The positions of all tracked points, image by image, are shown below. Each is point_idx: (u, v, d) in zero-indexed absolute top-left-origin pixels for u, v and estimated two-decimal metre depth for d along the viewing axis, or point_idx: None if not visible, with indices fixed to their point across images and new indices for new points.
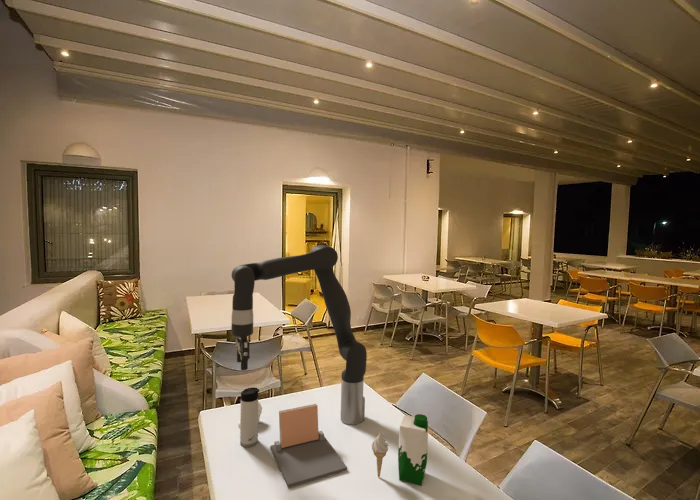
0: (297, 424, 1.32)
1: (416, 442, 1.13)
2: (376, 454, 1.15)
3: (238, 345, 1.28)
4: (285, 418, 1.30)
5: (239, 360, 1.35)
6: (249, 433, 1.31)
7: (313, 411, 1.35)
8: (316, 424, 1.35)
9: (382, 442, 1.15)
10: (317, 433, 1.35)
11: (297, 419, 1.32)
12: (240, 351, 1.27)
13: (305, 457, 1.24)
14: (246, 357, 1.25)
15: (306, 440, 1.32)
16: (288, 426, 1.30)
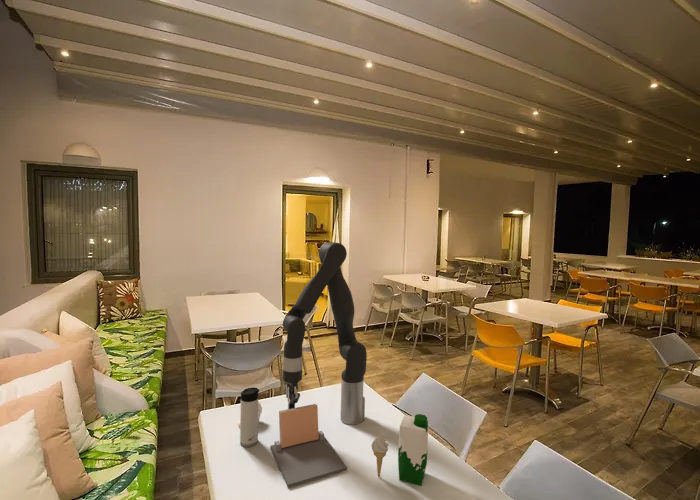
0: (297, 424, 1.32)
1: (416, 442, 1.13)
2: (376, 454, 1.15)
3: (288, 391, 1.38)
4: (285, 418, 1.30)
5: None
6: (249, 433, 1.31)
7: (313, 411, 1.35)
8: (316, 424, 1.35)
9: (382, 442, 1.15)
10: (317, 433, 1.35)
11: (297, 419, 1.32)
12: (289, 397, 1.39)
13: (305, 457, 1.24)
14: (294, 401, 1.38)
15: (306, 440, 1.32)
16: (288, 426, 1.30)
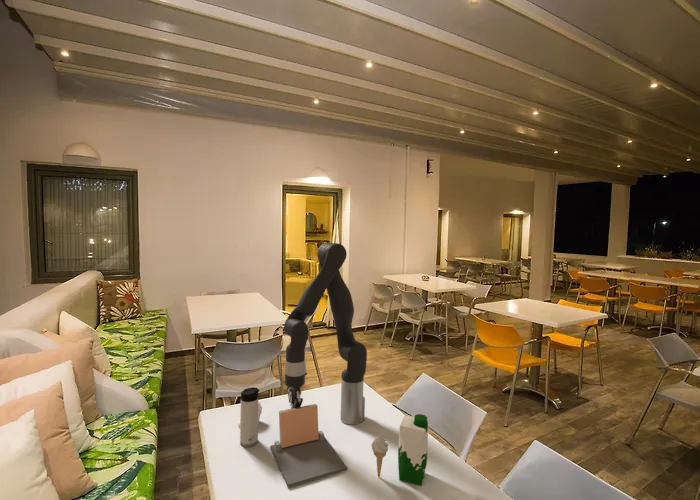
0: (297, 424, 1.32)
1: (416, 442, 1.13)
2: (376, 454, 1.15)
3: (291, 396, 1.35)
4: (285, 418, 1.30)
5: None
6: (249, 433, 1.31)
7: (313, 411, 1.35)
8: (316, 424, 1.35)
9: (382, 442, 1.15)
10: (317, 433, 1.35)
11: (297, 419, 1.32)
12: (292, 402, 1.36)
13: (305, 457, 1.24)
14: (297, 406, 1.35)
15: (306, 440, 1.32)
16: (288, 426, 1.30)
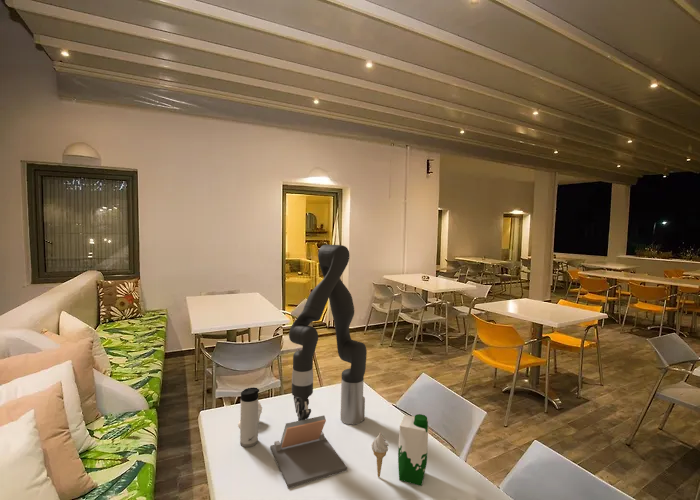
0: (301, 433, 1.27)
1: (416, 442, 1.13)
2: (376, 454, 1.15)
3: (298, 406, 1.28)
4: (291, 431, 1.24)
5: None
6: (249, 433, 1.31)
7: (320, 424, 1.29)
8: (320, 431, 1.31)
9: (382, 442, 1.15)
10: (318, 436, 1.33)
11: (302, 430, 1.27)
12: (299, 412, 1.28)
13: (305, 457, 1.24)
14: (305, 417, 1.27)
15: (306, 441, 1.32)
16: (292, 435, 1.26)
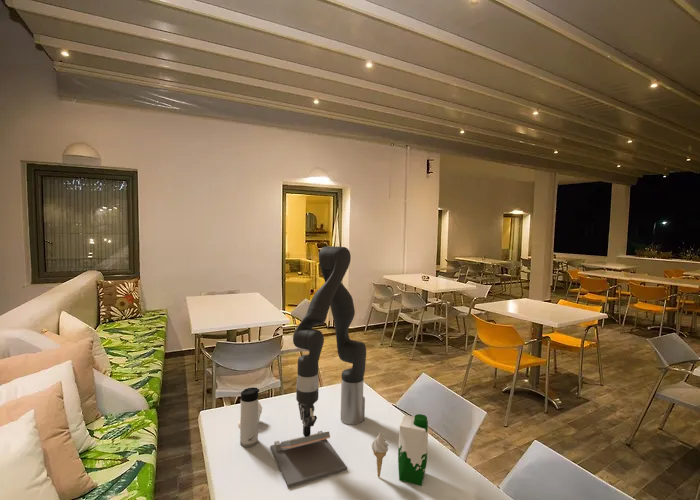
0: None
1: (416, 442, 1.13)
2: (376, 454, 1.15)
3: (303, 413, 1.23)
4: None
5: None
6: (249, 433, 1.31)
7: None
8: None
9: (382, 442, 1.15)
10: None
11: None
12: (305, 419, 1.23)
13: (305, 457, 1.24)
14: (310, 424, 1.23)
15: None
16: None
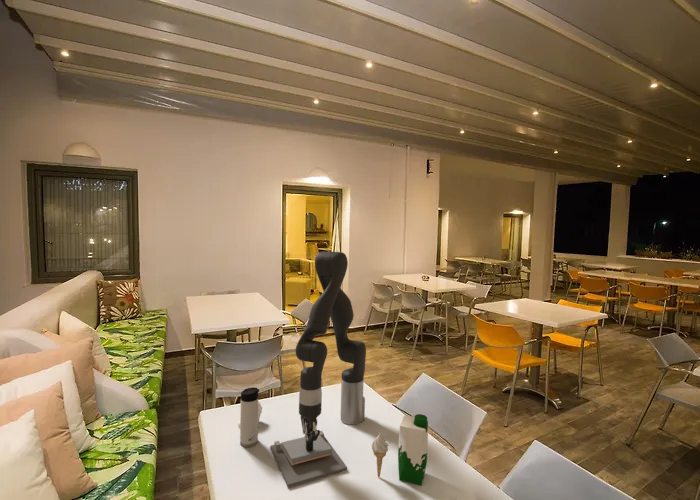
0: None
1: (416, 442, 1.13)
2: (376, 454, 1.15)
3: (306, 427, 1.20)
4: None
5: None
6: (249, 433, 1.31)
7: None
8: None
9: (382, 442, 1.15)
10: None
11: None
12: (307, 434, 1.21)
13: None
14: (313, 439, 1.20)
15: None
16: None
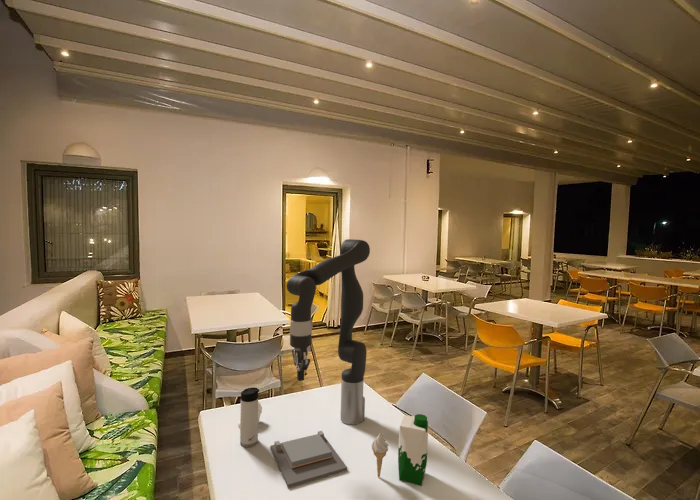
0: None
1: (416, 442, 1.13)
2: (376, 454, 1.15)
3: (297, 357, 1.27)
4: None
5: None
6: (249, 433, 1.31)
7: None
8: None
9: (382, 442, 1.15)
10: None
11: None
12: (298, 364, 1.27)
13: None
14: (304, 368, 1.27)
15: None
16: None
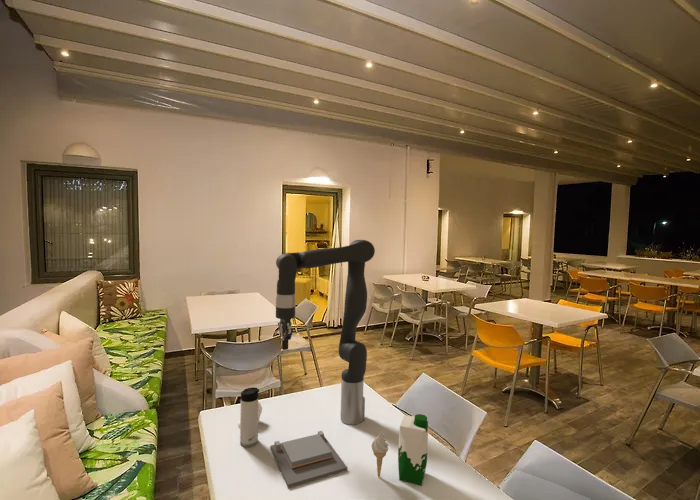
0: None
1: (416, 442, 1.13)
2: (376, 454, 1.15)
3: (282, 328, 1.40)
4: None
5: None
6: (249, 433, 1.31)
7: None
8: None
9: (382, 442, 1.15)
10: None
11: None
12: (283, 334, 1.40)
13: None
14: (288, 338, 1.40)
15: None
16: None
